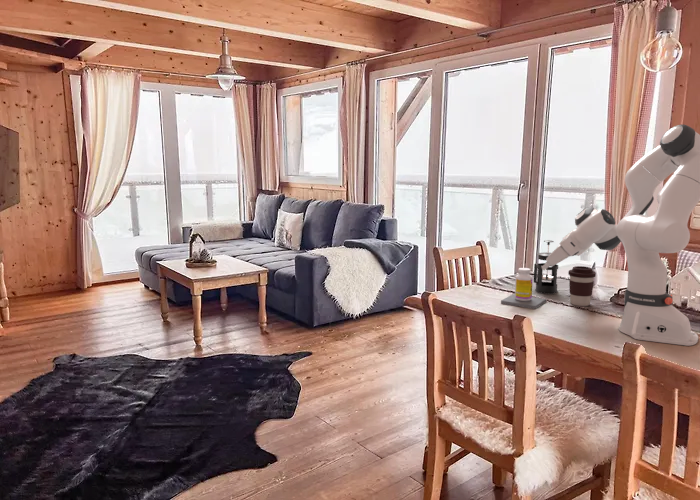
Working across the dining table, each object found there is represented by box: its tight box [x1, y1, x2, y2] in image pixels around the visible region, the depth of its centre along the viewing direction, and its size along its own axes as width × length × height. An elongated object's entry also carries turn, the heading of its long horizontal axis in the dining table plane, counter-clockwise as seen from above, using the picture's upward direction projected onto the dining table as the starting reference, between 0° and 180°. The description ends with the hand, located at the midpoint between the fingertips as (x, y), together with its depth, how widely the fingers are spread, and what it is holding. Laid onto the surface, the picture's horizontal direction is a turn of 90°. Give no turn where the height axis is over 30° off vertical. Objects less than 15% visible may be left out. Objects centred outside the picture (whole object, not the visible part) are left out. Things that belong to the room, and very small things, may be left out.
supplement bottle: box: [514, 267, 534, 301], centre depth 205 cm, size 7×7×13 cm
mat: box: [500, 293, 547, 310], centre depth 206 cm, size 14×13×1 cm
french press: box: [533, 239, 559, 295], centre depth 221 cm, size 12×9×23 cm
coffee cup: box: [567, 265, 597, 307], centre depth 201 cm, size 10×10×15 cm
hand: (546, 266), depth 197 cm, fingers open, 8 cm apart
